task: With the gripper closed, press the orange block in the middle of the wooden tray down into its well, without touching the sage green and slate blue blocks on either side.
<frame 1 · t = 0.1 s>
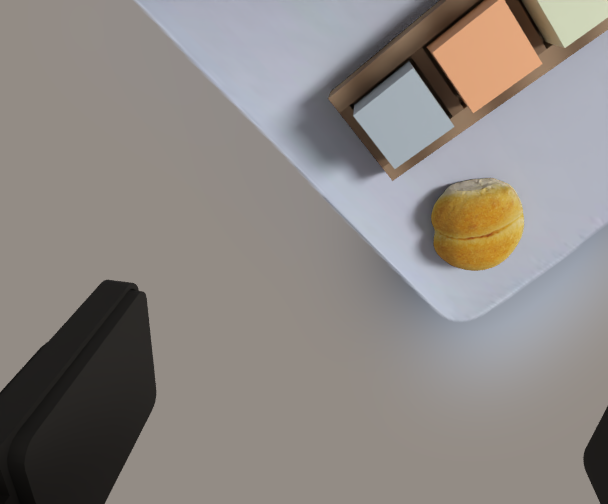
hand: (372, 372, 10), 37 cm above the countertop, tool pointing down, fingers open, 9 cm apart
wooden tray: (470, 48, 40), on the countertop
slate button: (401, 115, 38), point 4 cm above the countertop, slide at 0.0 cm
orange block: (481, 54, 36), point 4 cm above the countertop, slide at 0.0 cm
bread roll: (472, 217, 47), on the countertop
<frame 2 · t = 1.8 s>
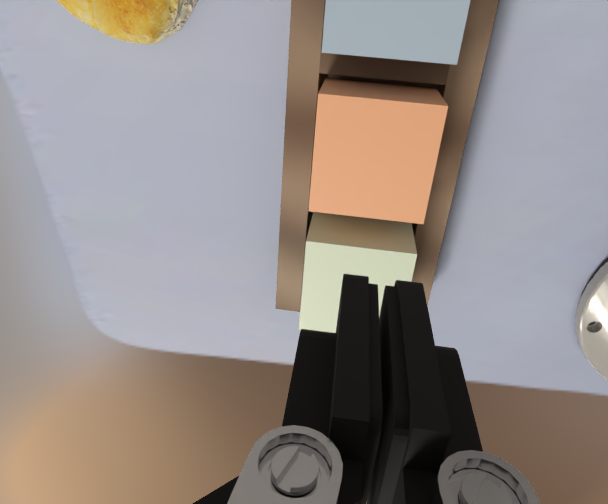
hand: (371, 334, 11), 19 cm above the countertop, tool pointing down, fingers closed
wooden tray: (372, 126, 27), on the countertop
orange block: (373, 149, 23), point 4 cm above the countertop, slide at 0.0 cm
sage button: (355, 273, 27), point 4 cm above the countertop, slide at 0.0 cm
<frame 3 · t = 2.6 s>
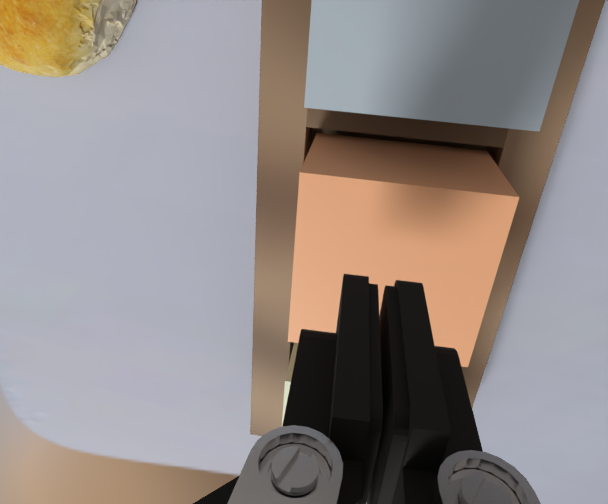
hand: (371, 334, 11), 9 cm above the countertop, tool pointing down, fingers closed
wooden tray: (386, 193, 19), on the countertop
orange block: (388, 244, 15), point 4 cm above the countertop, slide at 0.0 cm
sage button: (360, 408, 18), point 4 cm above the countertop, slide at 0.0 cm
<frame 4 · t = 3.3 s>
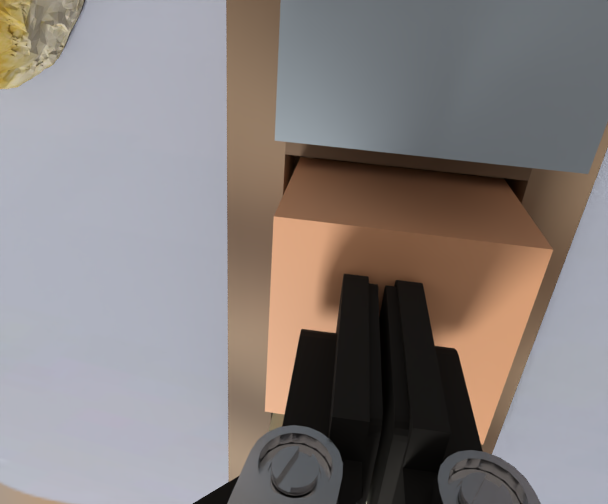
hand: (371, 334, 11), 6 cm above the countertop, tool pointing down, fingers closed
wooden tray: (384, 225, 16), on the countertop
orange block: (386, 293, 12), point 4 cm above the countertop, slide at 0.3 cm, touching gripper
sage button: (353, 479, 16), point 4 cm above the countertop, slide at 0.0 cm
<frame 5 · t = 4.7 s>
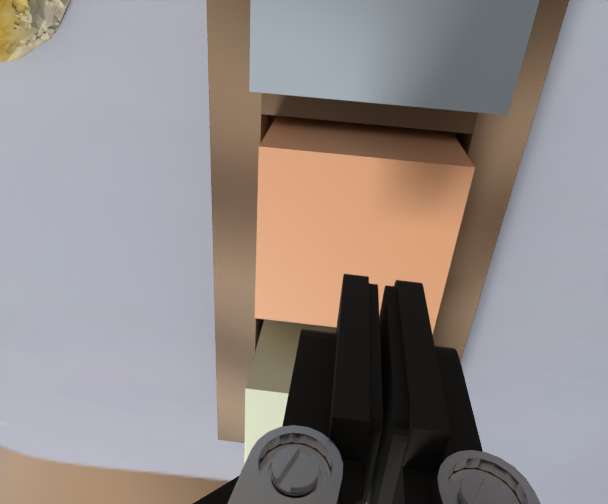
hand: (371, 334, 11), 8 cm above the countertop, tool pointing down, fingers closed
wooden tray: (353, 184, 18), on the countertop
orange block: (353, 220, 15), point 3 cm above the countertop, slide at 1.4 cm
sage button: (329, 411, 17), point 4 cm above the countertop, slide at 0.0 cm
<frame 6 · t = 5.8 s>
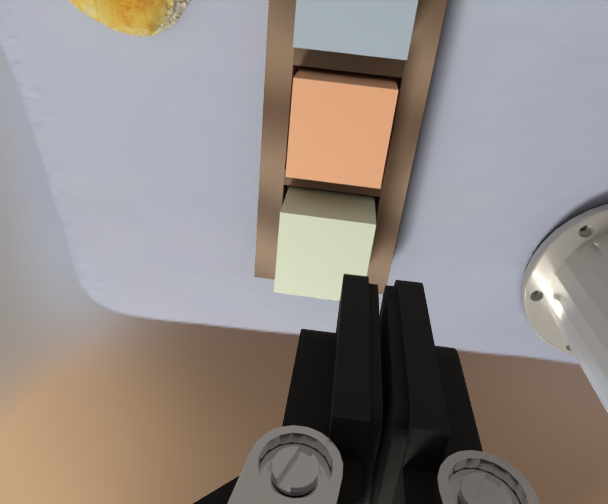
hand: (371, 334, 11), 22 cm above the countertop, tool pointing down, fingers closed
wooden tray: (341, 113, 30), on the countertop
orange block: (340, 126, 28), point 3 cm above the countertop, slide at 1.4 cm
sage button: (324, 244, 30), point 4 cm above the countertop, slide at 0.0 cm
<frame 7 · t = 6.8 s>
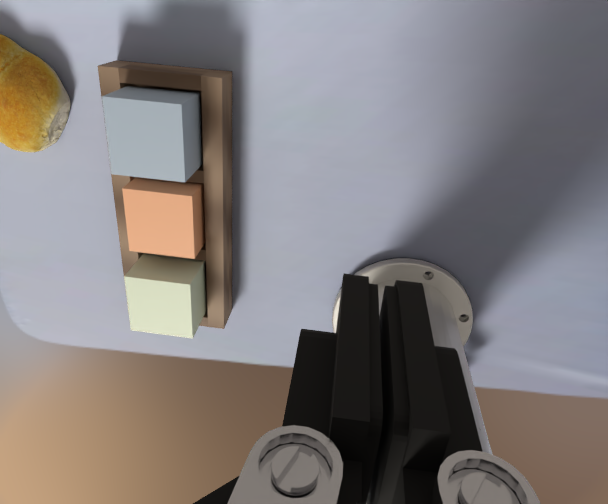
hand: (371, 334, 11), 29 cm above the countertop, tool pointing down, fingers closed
wooden tray: (181, 200, 42), on the countertop
slate button: (155, 133, 35), point 4 cm above the countertop, slide at 0.0 cm
orange block: (168, 214, 39), point 3 cm above the countertop, slide at 1.4 cm
sage button: (168, 294, 42), point 4 cm above the countertop, slide at 0.0 cm
bread roll: (23, 92, 40), on the countertop
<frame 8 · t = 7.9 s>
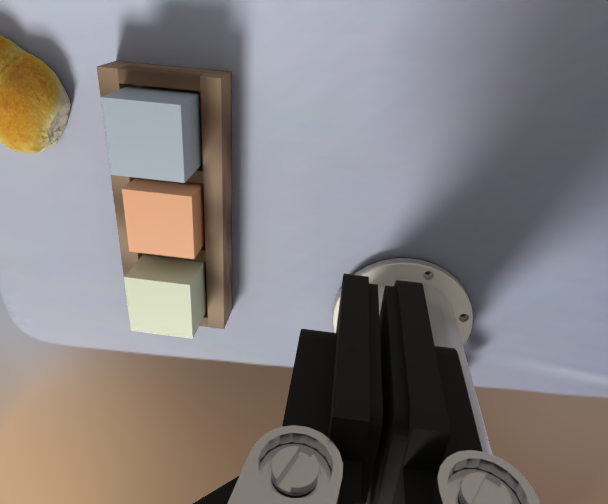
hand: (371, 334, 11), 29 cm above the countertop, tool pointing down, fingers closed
wooden tray: (180, 200, 42), on the countertop
slate button: (155, 133, 35), point 4 cm above the countertop, slide at 0.0 cm
orange block: (168, 214, 39), point 3 cm above the countertop, slide at 1.4 cm
sage button: (168, 295, 42), point 4 cm above the countertop, slide at 0.0 cm
bread roll: (23, 93, 40), on the countertop
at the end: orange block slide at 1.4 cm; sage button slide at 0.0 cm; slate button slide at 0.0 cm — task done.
